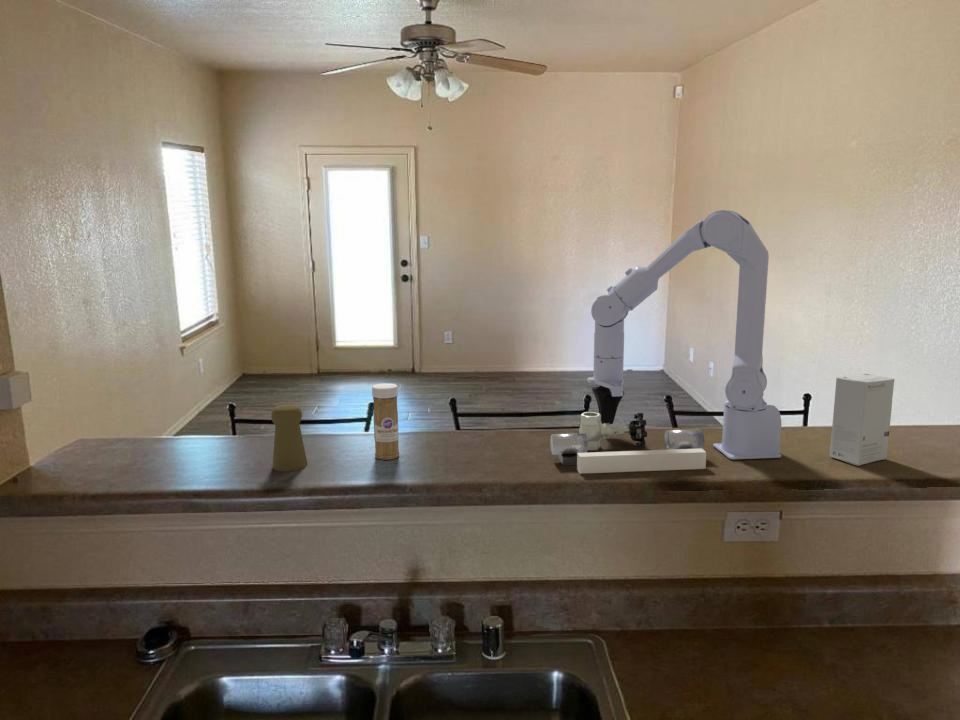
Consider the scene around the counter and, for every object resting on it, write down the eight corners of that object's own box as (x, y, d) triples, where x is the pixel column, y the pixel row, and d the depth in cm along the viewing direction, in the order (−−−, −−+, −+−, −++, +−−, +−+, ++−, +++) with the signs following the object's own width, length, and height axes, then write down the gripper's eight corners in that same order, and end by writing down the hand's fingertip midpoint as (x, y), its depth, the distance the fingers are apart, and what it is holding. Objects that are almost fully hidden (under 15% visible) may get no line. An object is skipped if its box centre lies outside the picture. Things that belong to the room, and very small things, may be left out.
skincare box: (858, 467, 120) (866, 383, 117) (827, 457, 125) (834, 376, 122) (888, 459, 123) (897, 377, 121) (856, 449, 129) (864, 371, 126)
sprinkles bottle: (380, 462, 124) (377, 389, 122) (371, 455, 128) (367, 384, 126) (404, 457, 127) (401, 386, 124) (393, 451, 131) (391, 381, 128)
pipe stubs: (694, 452, 128) (696, 426, 127) (704, 460, 124) (705, 433, 123) (549, 457, 126) (550, 430, 125) (554, 465, 122) (554, 438, 121)
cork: (313, 461, 125) (310, 402, 123) (296, 472, 120) (292, 411, 118) (284, 458, 127) (280, 400, 125) (265, 469, 121) (261, 409, 119)
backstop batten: (700, 464, 121) (701, 448, 121) (705, 468, 119) (706, 452, 119) (576, 469, 120) (577, 452, 119) (579, 473, 118) (579, 456, 117)
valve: (582, 453, 128) (646, 451, 129) (583, 419, 127) (648, 417, 128) (575, 442, 135) (636, 441, 135) (576, 409, 133) (637, 408, 134)
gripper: (580, 349, 142) (579, 414, 145) (597, 363, 128) (595, 434, 131) (614, 349, 143) (612, 413, 145) (635, 362, 128) (632, 433, 131)
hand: (606, 423), depth 138 cm, fingers closed
